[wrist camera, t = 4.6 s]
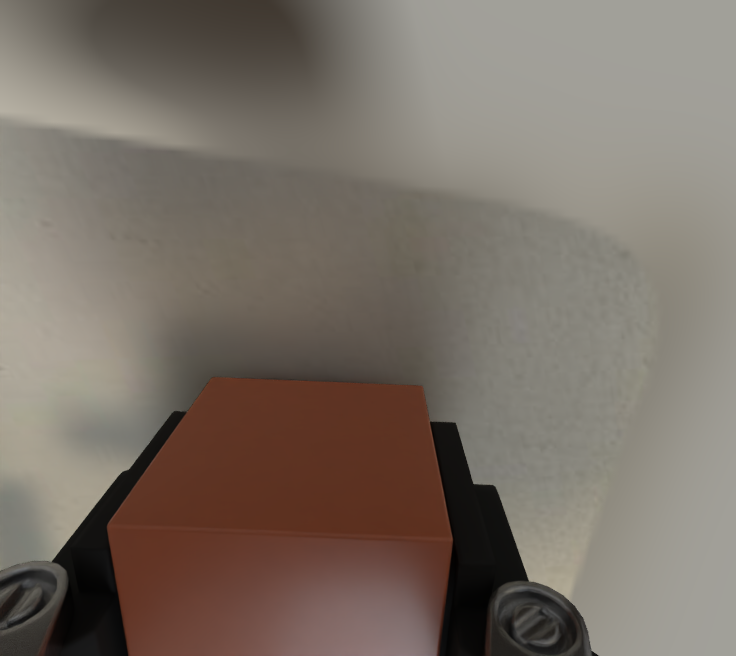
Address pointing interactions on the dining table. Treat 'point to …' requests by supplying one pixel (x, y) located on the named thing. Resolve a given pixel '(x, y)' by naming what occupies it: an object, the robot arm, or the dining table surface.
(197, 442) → the block
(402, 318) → the dining table surface
